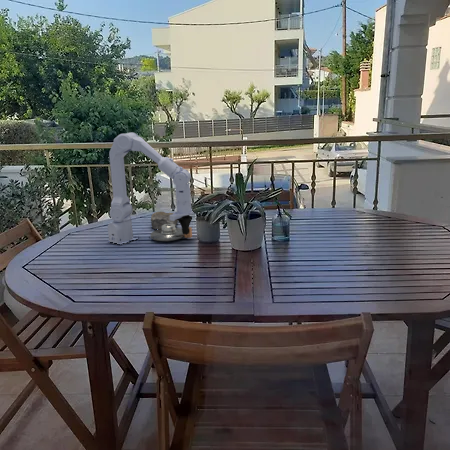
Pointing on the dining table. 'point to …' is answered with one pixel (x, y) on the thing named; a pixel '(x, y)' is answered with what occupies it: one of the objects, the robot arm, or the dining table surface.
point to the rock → (161, 219)
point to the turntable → (178, 235)
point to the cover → (168, 229)
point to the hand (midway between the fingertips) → (185, 233)
